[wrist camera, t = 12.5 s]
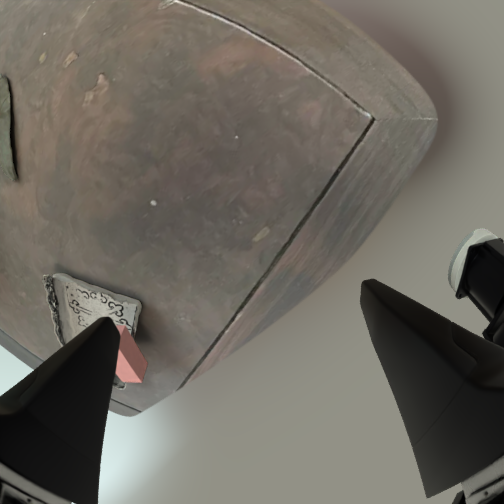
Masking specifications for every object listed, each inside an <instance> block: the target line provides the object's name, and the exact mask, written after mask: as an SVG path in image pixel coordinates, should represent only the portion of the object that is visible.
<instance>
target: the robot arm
mask: <svg viewBox="0 0 504 504" xmlns="http://www.w3.org/2000/svg"><path fill="white" fill-rule="evenodd" d="M466 296H468V298H469V299H470V300H471V301H472V302H473V303H474V304H475V305H476V307H477V308H478V309H479V310H480V311H481V312H482V314H483V315H484V316H485V317H486V318H487V320H488V321H489V322H490V324H489V325H488V327H487V328H486V329H485V330H484V331H483V333H482V334H483V336H484V338H485V339H484V338H482V337H480V336H478V335H476V334H474V333H472V332H470V331H468V330H466V329H465V328H463V327H461V326H459V325H457V324H456V323H454V322H451V321H450V320H449V319H447V318H445V317H443V316H441V315H440V314H438V313H436V312H434V311H433V310H431V309H429V308H427V307H425V306H424V305H422V304H420V303H418V302H416V301H415V300H413V299H411V298H409V297H407V296H405V295H403V294H402V293H400V292H398V291H396V290H394V289H392V288H391V287H389V286H387V285H385V284H383V283H381V282H379V281H377V280H375V279H369V280H364V281H363V282H362V284H361V297H360V304H361V308H362V311H363V314H364V317H365V320H366V324H367V327H368V330H369V334H370V337H371V340H372V343H373V345H374V348H375V351H376V353H377V355H378V358H379V360H380V362H381V365H382V367H383V370H384V372H385V374H386V377H387V379H388V382H389V384H390V387H391V389H392V392H393V394H394V397H395V400H396V402H397V405H398V408H399V411H400V413H401V416H402V419H403V422H404V424H405V427H406V430H407V433H408V436H409V439H410V442H411V445H412V447H413V452H414V455H415V458H416V461H417V465H418V468H419V472H420V475H421V479H422V482H423V486H424V490H425V494H426V497H427V498H430V497H432V496H434V495H436V494H439V493H441V492H443V491H444V490H447V489H449V488H451V487H453V486H455V485H457V484H458V483H460V482H461V484H462V487H463V490H462V491H460V492H459V493H457V495H456V497H455V499H454V501H453V503H452V504H504V243H503V240H502V239H501V238H498V239H492V240H488V241H485V242H482V243H478V244H473V245H470V246H469V248H468V250H467V255H466V259H465V263H464V267H463V271H462V275H461V278H460V282H459V285H458V288H457V292H456V298H457V299H461V298H464V297H466ZM120 339H121V336H120V332H119V330H118V328H117V327H116V325H115V323H114V322H113V320H112V318H111V317H109V316H106V317H100V318H98V319H97V320H96V321H95V322H93V323H92V324H91V325H89V326H88V327H87V328H86V329H84V330H83V331H82V332H80V333H79V334H78V335H77V336H75V337H74V338H73V339H72V340H70V341H69V342H68V343H67V344H65V345H64V346H63V347H62V348H60V349H59V350H58V351H57V352H55V353H54V354H53V355H52V356H51V357H49V358H48V359H47V360H46V361H44V362H43V363H42V364H41V365H40V366H39V367H37V368H36V369H35V370H34V371H32V372H31V373H30V374H29V375H28V376H26V377H25V378H24V379H23V380H21V381H20V382H19V383H17V384H16V385H15V386H13V387H12V388H11V389H9V390H8V391H7V392H5V393H4V394H3V395H1V396H0V504H71V502H73V503H75V504H98V489H99V476H100V463H101V455H102V446H103V439H104V432H105V426H106V420H107V414H108V408H109V403H110V398H111V393H112V388H113V383H114V379H115V374H116V367H117V360H118V353H119V346H120Z"/></svg>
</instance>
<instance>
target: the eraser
mask: <svg viewBox="0 0 504 504" xmlns="http://www.w3.org/2000/svg"><path fill="white" fill-rule="evenodd" d="M116 327H117V328H118V330H119V332H120V336H121V339H120V346H119V353H118V360H117V367H116V374H117V376H118V377H119V378H120V379H121V381H122V382H137V383H142V381H143V378H144V374H145V371H146V367H147V364H148V363H147V361H146V360H145V358H144V356H143V355H142V353H141V351H140V350H139V348H138V346H137V345H136V343H135V341H134V339H133V338H132V336H131V334H130V332H129V331H128V329H127V327H126V325H117V326H116Z"/></svg>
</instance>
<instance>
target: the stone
mask: <svg viewBox="0 0 504 504" xmlns="http://www.w3.org/2000/svg"><path fill="white" fill-rule="evenodd" d="M8 88H9V86H8V83H7V79H6V78H3V77H2V74H0V166H1V168H2V170H3V172H4V173H5V174H6V175H7V177H8V178H10V179H11V180H12V181H14V180H16V179H17V175H16V173H15V169H14V164H13V157H12V148H11V145H10V92H9V91H8Z"/></svg>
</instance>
